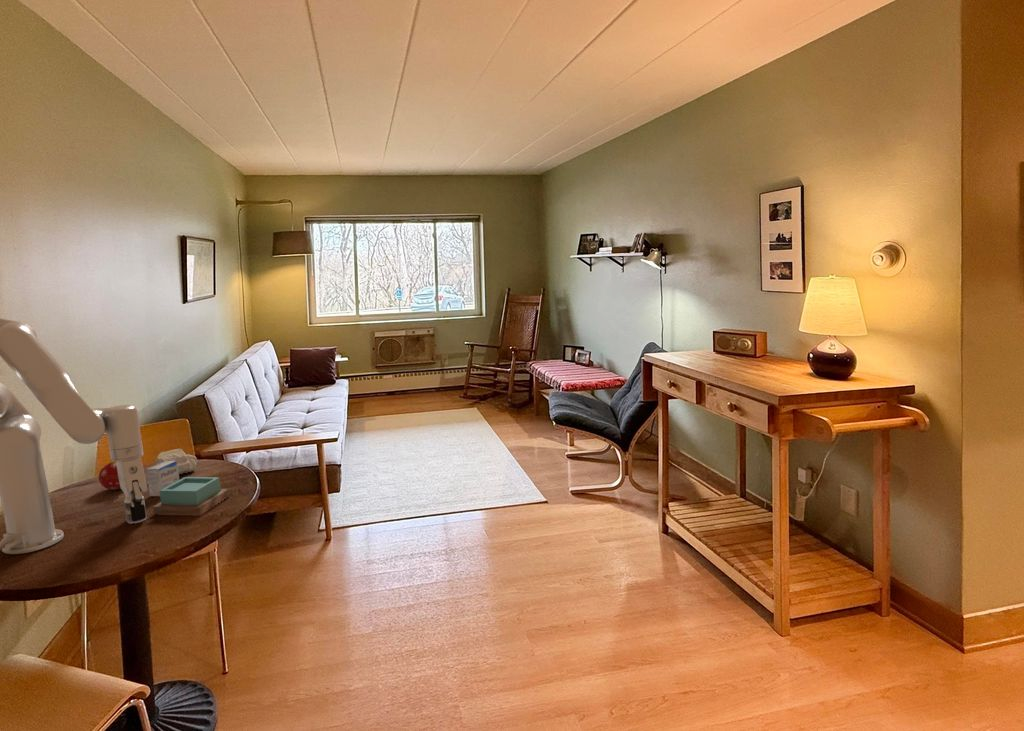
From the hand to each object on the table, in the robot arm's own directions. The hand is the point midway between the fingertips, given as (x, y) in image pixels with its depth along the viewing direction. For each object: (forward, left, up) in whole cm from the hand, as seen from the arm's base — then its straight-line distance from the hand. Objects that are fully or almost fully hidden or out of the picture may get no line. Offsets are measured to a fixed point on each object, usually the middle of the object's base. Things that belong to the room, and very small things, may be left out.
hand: (136, 516), depth 174 cm
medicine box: (+21, +7, -1) cm, 22 cm away
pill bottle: (0, 0, -1) cm, 1 cm away
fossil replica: (+37, +14, -1) cm, 40 cm away
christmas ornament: (+23, +25, -1) cm, 34 cm away
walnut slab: (+11, -9, -2) cm, 14 cm away
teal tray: (+11, -9, +1) cm, 14 cm away
